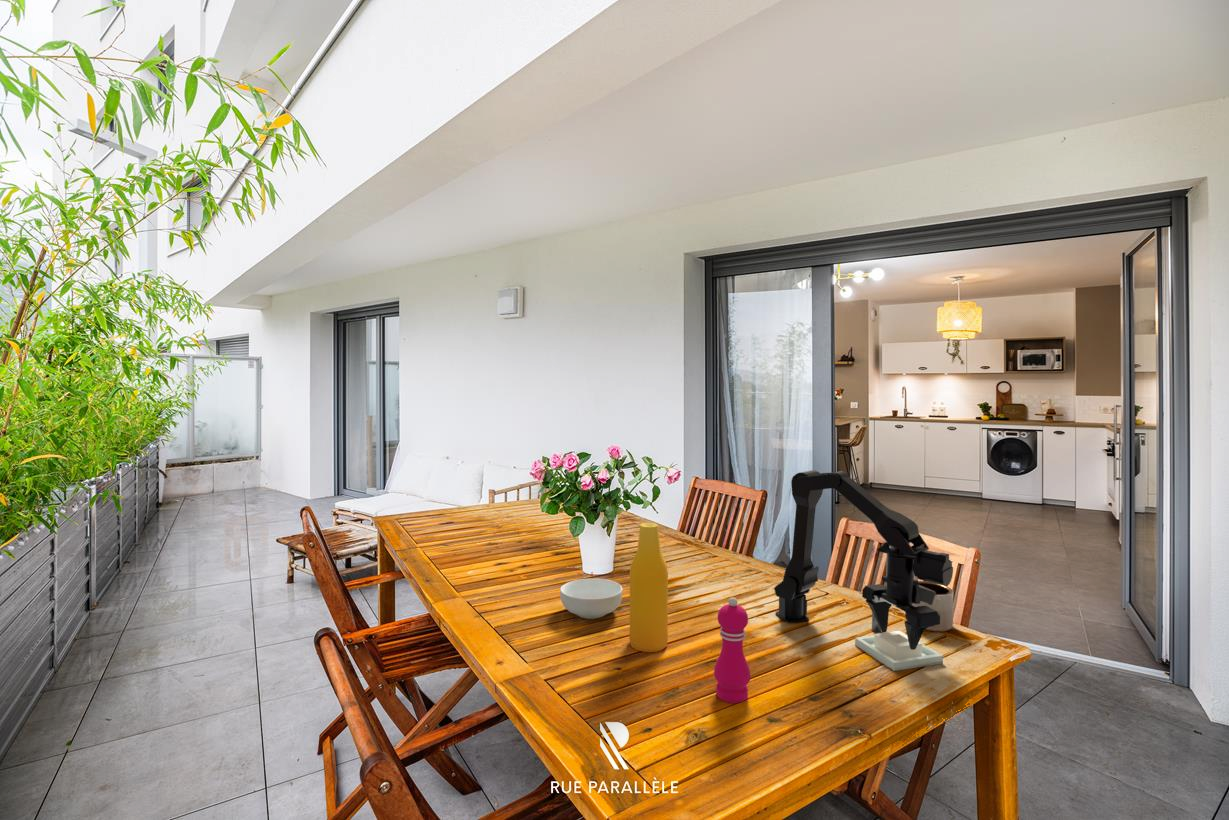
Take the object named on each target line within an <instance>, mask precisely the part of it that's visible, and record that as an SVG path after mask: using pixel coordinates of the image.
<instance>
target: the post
mask: <svg viewBox="0 0 1229 820" xmlns="http://www.w3.org/2000/svg"><path fill="white" fill-rule="evenodd" d="M871 631H872V632H874V633H876V634H879V633H882V631H881V629H880V627H879V625H878V623H877V620H876V618H875V616H874V614H873V612H872V611H871Z"/></svg>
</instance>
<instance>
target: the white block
mask: <svg viewBox="0 0 1229 820" xmlns="http://www.w3.org/2000/svg"><path fill="white" fill-rule="evenodd" d="M874 635H875V646H874V647H876V648H878V649H879V650H881V651H882V652H884V653H885V654H887V655H888V656H890V657H892V658H893V659H895V660H901V659H907V658H914V657H921V656H922V644H923V643H922V642H920V641H919V643H918V645H917V647H916V649H914V650H911V649H910V646H909V642H908V637H907V633H904V632H903V631H901V630H896V631H890V632H888V631H887V632H885V633H883V632H879V633H875V634H874Z"/></svg>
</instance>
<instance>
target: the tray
mask: <svg viewBox="0 0 1229 820" xmlns="http://www.w3.org/2000/svg"><path fill="white" fill-rule="evenodd" d="M854 646H856V647H858V648H859V649H860V650H861V651H863V652H865V654H868V655H869V656H870V657H872V658H873V659H875V660H877V662H879V663H881V664H883V665H884V666H885V667H887V668H888V669H890V670H892V671H893V672H898V671H902V670H903V671H904V670H910V669H916V668H922V667H929V666H936V665H942V664H944V655H942V654H941V653H939V652H937V651H935V650H934V649H932V648H930V647H929V646H927V645H925V644H923V643H922V656H921V657H914V658H907V659H901V660H895V659H893V658H892V657H890V656H888V655H887V654H885V653H884V652H882V651H881V650H879V649H878V648H876V647H874V646H875V634H874V635H865V636H859V637H855V639H854Z"/></svg>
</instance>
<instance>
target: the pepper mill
mask: <svg viewBox="0 0 1229 820" xmlns="http://www.w3.org/2000/svg"><path fill="white" fill-rule="evenodd" d="M717 622H718V624H719V626H720V628H719V632H720V633H719V636H720V637H721V642H722V644H721V650H720V653H719V656H718V657H717V659H716V662H715V665H714V669H713V677H714V678H715V679H714V680H716V682H717V683H716V686H715V688H716V689H715V690H716V691H715V694H716V697H718V699H720V700H721V701H724V702H727V703H732V704H738V703H743V702H745V701H746V700H748V697H749V688H748V684H749V683H750V681H751V669H750V667H749V663H748V661H747V659H746V657H745V652H744V647H743V645H744V639H746V629H745V628H746V627H747V626H748V624H749V616H748V613H747V611H746V609H745V608H744V607H743V606H741V605H740V604H738V600H737V598H736V597H733V596H731V597H729V599H728V603H727V604H725V605H724V604H723V606H721V607H720V608H719V610H718V613H717Z"/></svg>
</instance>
